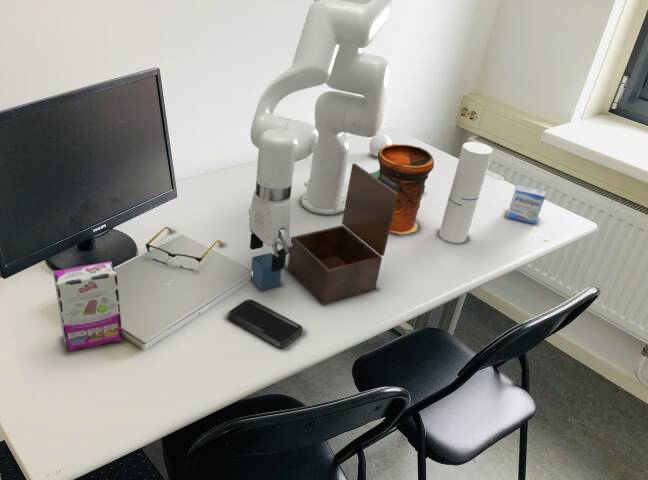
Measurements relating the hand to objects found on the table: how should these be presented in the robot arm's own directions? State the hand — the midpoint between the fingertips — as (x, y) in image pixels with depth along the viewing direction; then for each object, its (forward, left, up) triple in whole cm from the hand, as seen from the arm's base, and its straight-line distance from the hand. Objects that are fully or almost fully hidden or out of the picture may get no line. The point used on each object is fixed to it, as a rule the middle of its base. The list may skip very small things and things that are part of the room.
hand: (266, 258), depth 147 cm
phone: (+14, -8, -7) cm, 17 cm away
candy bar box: (+4, -42, -7) cm, 42 cm away
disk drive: (-28, +60, -7) cm, 67 cm away
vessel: (-11, +46, -7) cm, 48 cm away
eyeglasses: (-19, -12, -7) cm, 24 cm away
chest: (+5, +15, -7) cm, 17 cm away
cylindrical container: (+1, +57, -7) cm, 58 cm away
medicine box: (+1, +83, -7) cm, 84 cm away
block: (0, 0, -7) cm, 7 cm away
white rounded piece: (-47, +70, -7) cm, 85 cm away
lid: (+5, +22, +10) cm, 25 cm away
